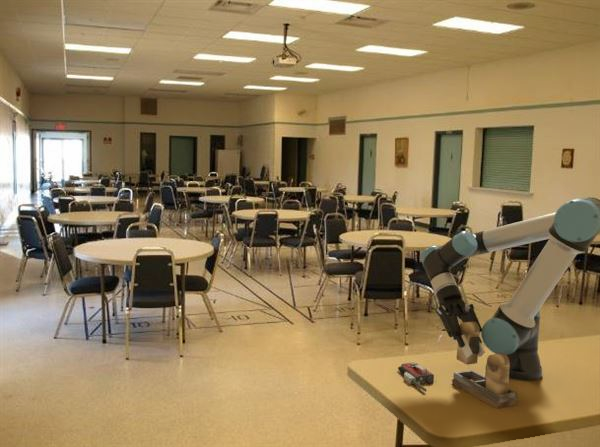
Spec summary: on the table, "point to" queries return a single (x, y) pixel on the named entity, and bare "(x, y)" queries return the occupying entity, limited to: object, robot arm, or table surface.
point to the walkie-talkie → (416, 374)
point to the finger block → (469, 342)
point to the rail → (489, 382)
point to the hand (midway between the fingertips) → (475, 355)
